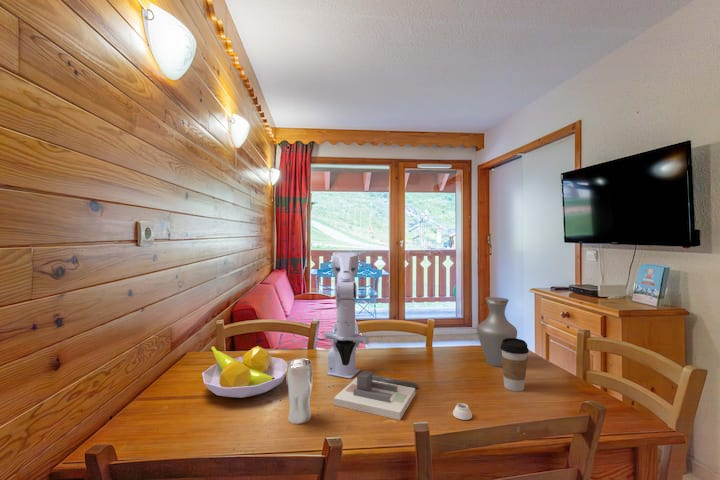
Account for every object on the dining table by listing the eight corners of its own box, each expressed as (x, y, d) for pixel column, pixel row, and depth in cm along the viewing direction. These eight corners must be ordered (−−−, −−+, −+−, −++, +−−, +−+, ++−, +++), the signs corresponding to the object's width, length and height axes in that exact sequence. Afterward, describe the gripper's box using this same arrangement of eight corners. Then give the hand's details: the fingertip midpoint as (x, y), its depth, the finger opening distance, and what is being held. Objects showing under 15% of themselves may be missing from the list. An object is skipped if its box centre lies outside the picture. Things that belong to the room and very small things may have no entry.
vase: (482, 354, 142) (483, 294, 142) (520, 362, 133) (521, 298, 133) (471, 365, 130) (472, 299, 130) (512, 374, 122) (512, 304, 121)
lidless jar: (459, 422, 90) (475, 419, 92) (459, 411, 90) (475, 408, 92) (449, 413, 95) (465, 410, 97) (449, 402, 95) (465, 400, 97)
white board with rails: (333, 404, 99) (333, 392, 99) (362, 377, 119) (362, 367, 119) (399, 420, 91) (399, 407, 91) (419, 387, 111) (419, 376, 111)
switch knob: (357, 392, 102) (357, 375, 102) (363, 386, 107) (363, 370, 107) (366, 394, 101) (366, 377, 101) (372, 387, 106) (372, 371, 106)
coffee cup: (528, 384, 113) (528, 339, 113) (528, 395, 106) (529, 347, 105) (500, 380, 117) (501, 336, 117) (499, 390, 109) (499, 343, 109)
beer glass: (317, 413, 94) (317, 359, 94) (304, 427, 88) (304, 369, 88) (294, 409, 97) (294, 356, 96) (281, 422, 90) (281, 365, 90)
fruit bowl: (305, 386, 112) (305, 351, 112) (224, 418, 92) (224, 376, 92) (259, 364, 131) (259, 334, 131) (184, 387, 111) (184, 352, 111)
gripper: (319, 321, 106) (319, 365, 106) (362, 326, 100) (362, 372, 100) (330, 316, 112) (330, 357, 112) (371, 320, 106) (371, 364, 106)
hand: (345, 364), depth 107 cm, fingers closed
